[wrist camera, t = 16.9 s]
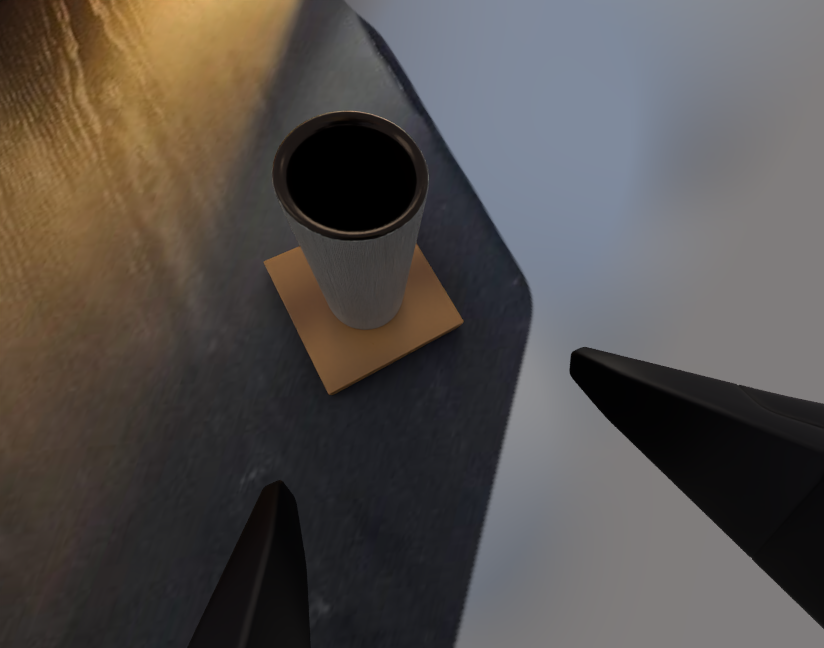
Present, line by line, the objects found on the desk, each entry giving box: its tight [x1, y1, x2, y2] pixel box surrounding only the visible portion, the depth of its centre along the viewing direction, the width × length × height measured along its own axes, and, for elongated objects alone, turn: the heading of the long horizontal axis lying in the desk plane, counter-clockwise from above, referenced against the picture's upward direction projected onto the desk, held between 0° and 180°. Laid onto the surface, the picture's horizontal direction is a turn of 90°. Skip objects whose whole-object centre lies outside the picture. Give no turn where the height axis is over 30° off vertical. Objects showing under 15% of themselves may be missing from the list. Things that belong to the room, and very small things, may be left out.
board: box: [264, 244, 464, 395], centre depth 20 cm, size 9×9×1 cm
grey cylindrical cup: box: [272, 111, 429, 330], centre depth 14 cm, size 4×4×10 cm
